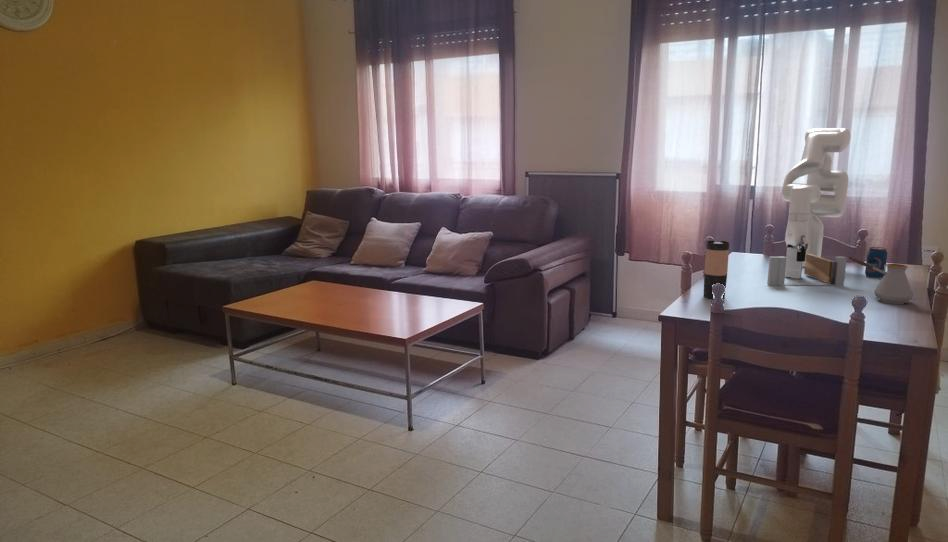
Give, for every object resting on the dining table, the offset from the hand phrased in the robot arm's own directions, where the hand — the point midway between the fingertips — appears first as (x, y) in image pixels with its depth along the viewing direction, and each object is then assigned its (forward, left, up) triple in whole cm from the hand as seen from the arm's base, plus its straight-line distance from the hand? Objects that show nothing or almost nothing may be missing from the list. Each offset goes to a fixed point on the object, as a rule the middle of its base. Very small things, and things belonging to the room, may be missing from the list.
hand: (795, 258), depth 263 cm
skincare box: (0, 0, -8) cm, 8 cm away
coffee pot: (+39, +11, -8) cm, 41 cm away
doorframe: (+15, -2, -8) cm, 17 cm away
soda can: (0, +33, -8) cm, 34 cm away
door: (+6, +7, -7) cm, 12 cm away
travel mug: (+35, -44, -8) cm, 57 cm away
